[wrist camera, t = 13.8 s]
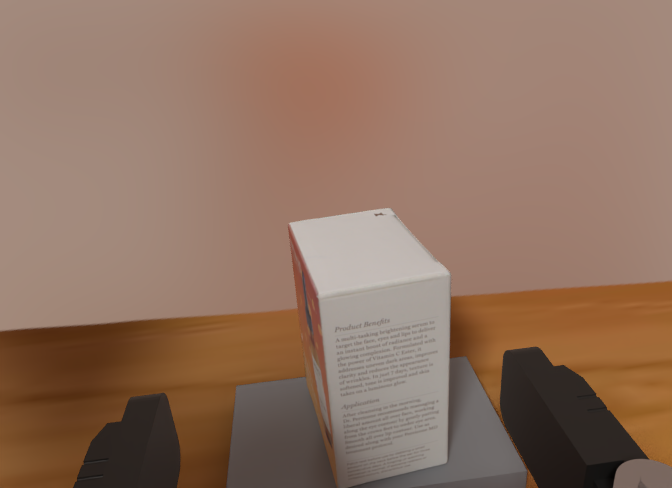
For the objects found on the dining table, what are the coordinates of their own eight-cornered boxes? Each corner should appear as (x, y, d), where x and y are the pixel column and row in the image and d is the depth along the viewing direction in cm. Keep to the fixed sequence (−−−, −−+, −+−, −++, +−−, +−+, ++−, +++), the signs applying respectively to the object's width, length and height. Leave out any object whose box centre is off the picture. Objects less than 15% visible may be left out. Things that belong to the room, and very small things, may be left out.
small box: (306, 386, 32) (285, 220, 28) (397, 367, 33) (390, 203, 29) (336, 495, 25) (313, 294, 21) (451, 467, 26) (453, 269, 22)
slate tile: (227, 532, 25) (223, 514, 25) (239, 401, 33) (236, 385, 33) (525, 489, 26) (527, 470, 26) (465, 372, 34) (466, 356, 34)
